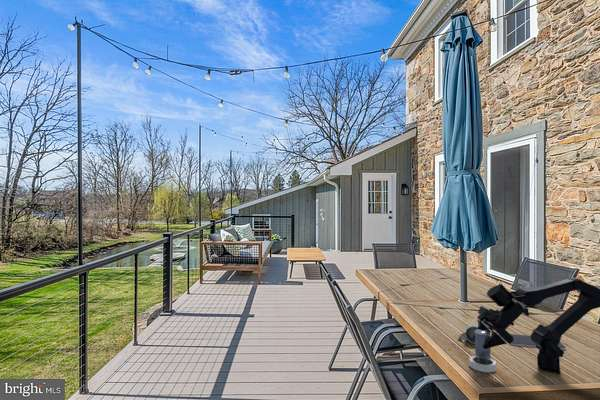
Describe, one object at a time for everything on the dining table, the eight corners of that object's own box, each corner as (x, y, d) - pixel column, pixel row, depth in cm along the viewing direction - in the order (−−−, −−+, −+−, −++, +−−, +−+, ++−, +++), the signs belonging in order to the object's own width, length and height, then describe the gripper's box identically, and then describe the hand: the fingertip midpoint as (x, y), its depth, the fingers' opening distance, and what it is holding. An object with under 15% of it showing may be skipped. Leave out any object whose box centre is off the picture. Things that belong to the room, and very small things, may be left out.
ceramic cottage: (527, 300, 236) (525, 277, 236) (542, 307, 219) (540, 283, 219) (503, 301, 237) (501, 278, 237) (516, 308, 220) (514, 285, 220)
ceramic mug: (484, 339, 165) (483, 322, 165) (484, 345, 157) (483, 327, 158) (459, 336, 170) (458, 320, 170) (458, 341, 162) (457, 325, 163)
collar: (497, 365, 137) (497, 359, 137) (494, 374, 129) (494, 368, 129) (471, 360, 142) (471, 354, 142) (467, 368, 134) (467, 362, 135)
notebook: (555, 341, 163) (503, 336, 170) (555, 337, 163) (503, 333, 170) (566, 351, 151) (510, 346, 158) (566, 347, 151) (510, 342, 158)
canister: (488, 363, 138) (488, 330, 138) (492, 369, 132) (492, 334, 133) (473, 362, 139) (473, 328, 139) (477, 368, 134) (476, 333, 134)
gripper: (481, 294, 145) (454, 320, 146) (503, 306, 127) (472, 336, 127) (502, 313, 144) (474, 340, 145) (527, 328, 126) (495, 359, 126)
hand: (478, 343), depth 136 cm, fingers open, 9 cm apart
